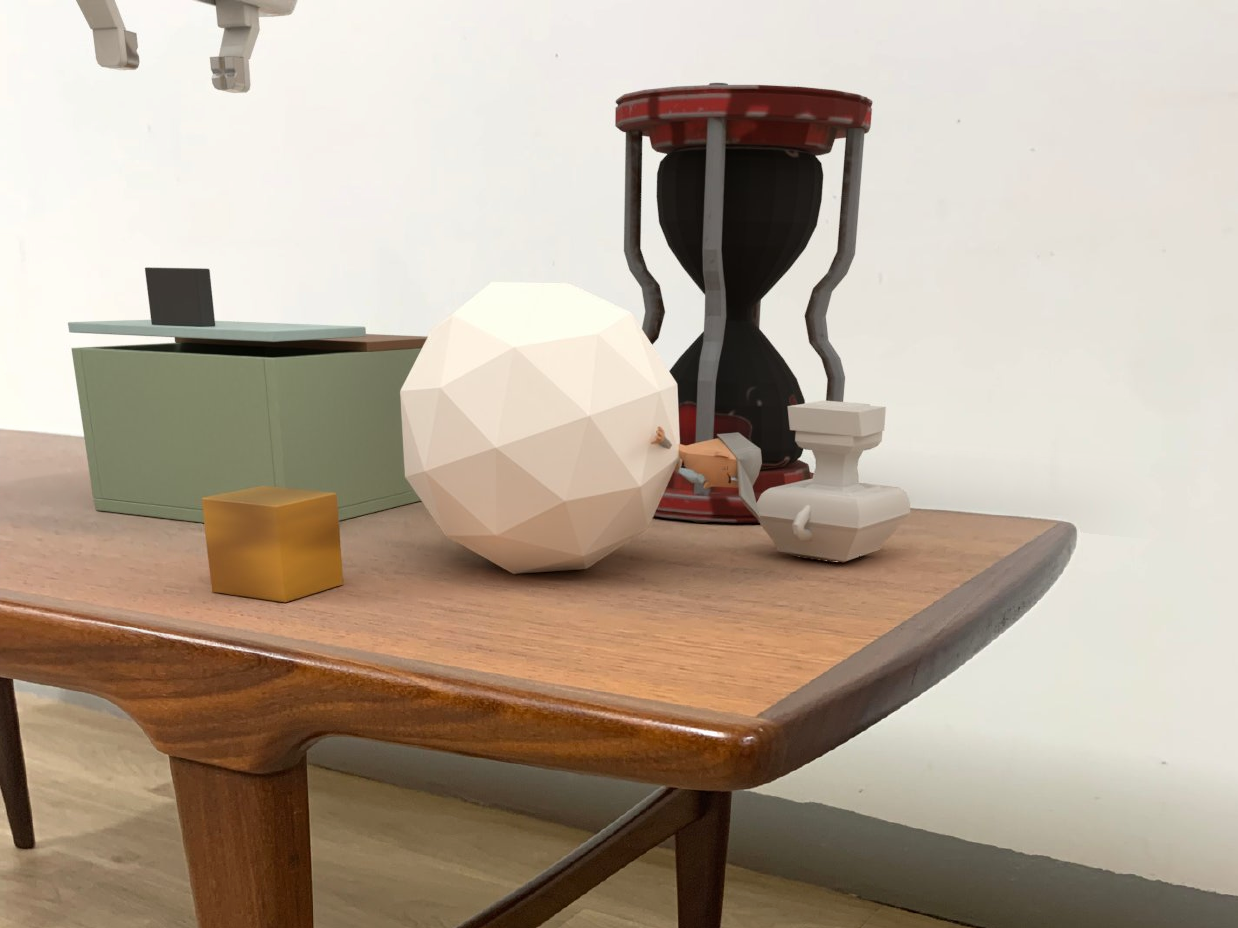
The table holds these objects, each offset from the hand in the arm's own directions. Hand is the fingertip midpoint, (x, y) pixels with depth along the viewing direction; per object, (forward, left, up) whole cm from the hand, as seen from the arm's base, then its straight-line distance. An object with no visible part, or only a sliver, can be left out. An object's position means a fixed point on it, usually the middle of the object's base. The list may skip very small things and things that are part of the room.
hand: (178, 80), depth 75 cm
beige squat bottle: (+40, +6, -25) cm, 47 cm away
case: (+1, +5, -25) cm, 25 cm away
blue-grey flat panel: (+1, 0, -14) cm, 14 cm away
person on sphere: (+29, -5, -25) cm, 38 cm away
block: (+18, -16, -25) cm, 35 cm away
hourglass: (+28, +20, -25) cm, 42 cm away
